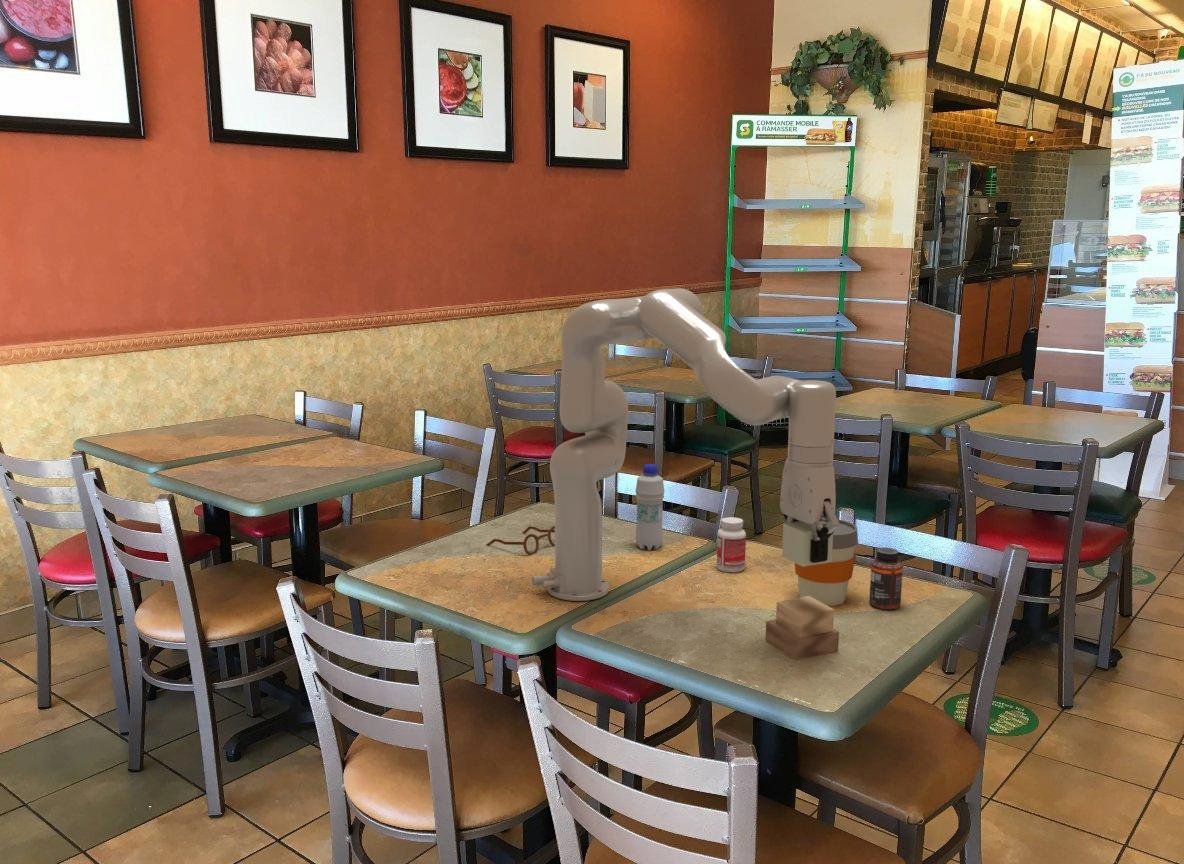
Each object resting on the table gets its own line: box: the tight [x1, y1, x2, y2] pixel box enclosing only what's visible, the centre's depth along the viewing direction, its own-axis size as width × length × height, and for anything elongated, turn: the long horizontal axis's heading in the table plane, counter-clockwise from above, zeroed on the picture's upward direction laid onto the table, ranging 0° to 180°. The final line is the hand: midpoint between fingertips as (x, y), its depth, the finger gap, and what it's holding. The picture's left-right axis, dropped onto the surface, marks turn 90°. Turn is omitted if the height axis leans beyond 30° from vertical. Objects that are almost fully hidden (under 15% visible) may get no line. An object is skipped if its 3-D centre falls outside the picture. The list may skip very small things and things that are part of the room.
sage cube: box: [781, 521, 833, 567], centre depth 162 cm, size 6×6×6 cm
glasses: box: [485, 525, 555, 556], centre depth 222 cm, size 13×13×5 cm
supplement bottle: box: [868, 547, 904, 611], centre depth 184 cm, size 6×6×11 cm
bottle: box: [635, 463, 665, 551], centre depth 218 cm, size 7×7×20 cm
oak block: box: [775, 596, 835, 638], centre depth 165 cm, size 7×7×4 cm
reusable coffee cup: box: [794, 518, 859, 607], centre depth 188 cm, size 13×13×15 cm
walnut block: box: [765, 618, 840, 661], centre depth 166 cm, size 9×9×4 cm
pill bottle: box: [716, 516, 747, 573], centre depth 205 cm, size 6×6×11 cm
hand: (806, 554), depth 162 cm, fingers closed on sage cube, 6 cm apart
